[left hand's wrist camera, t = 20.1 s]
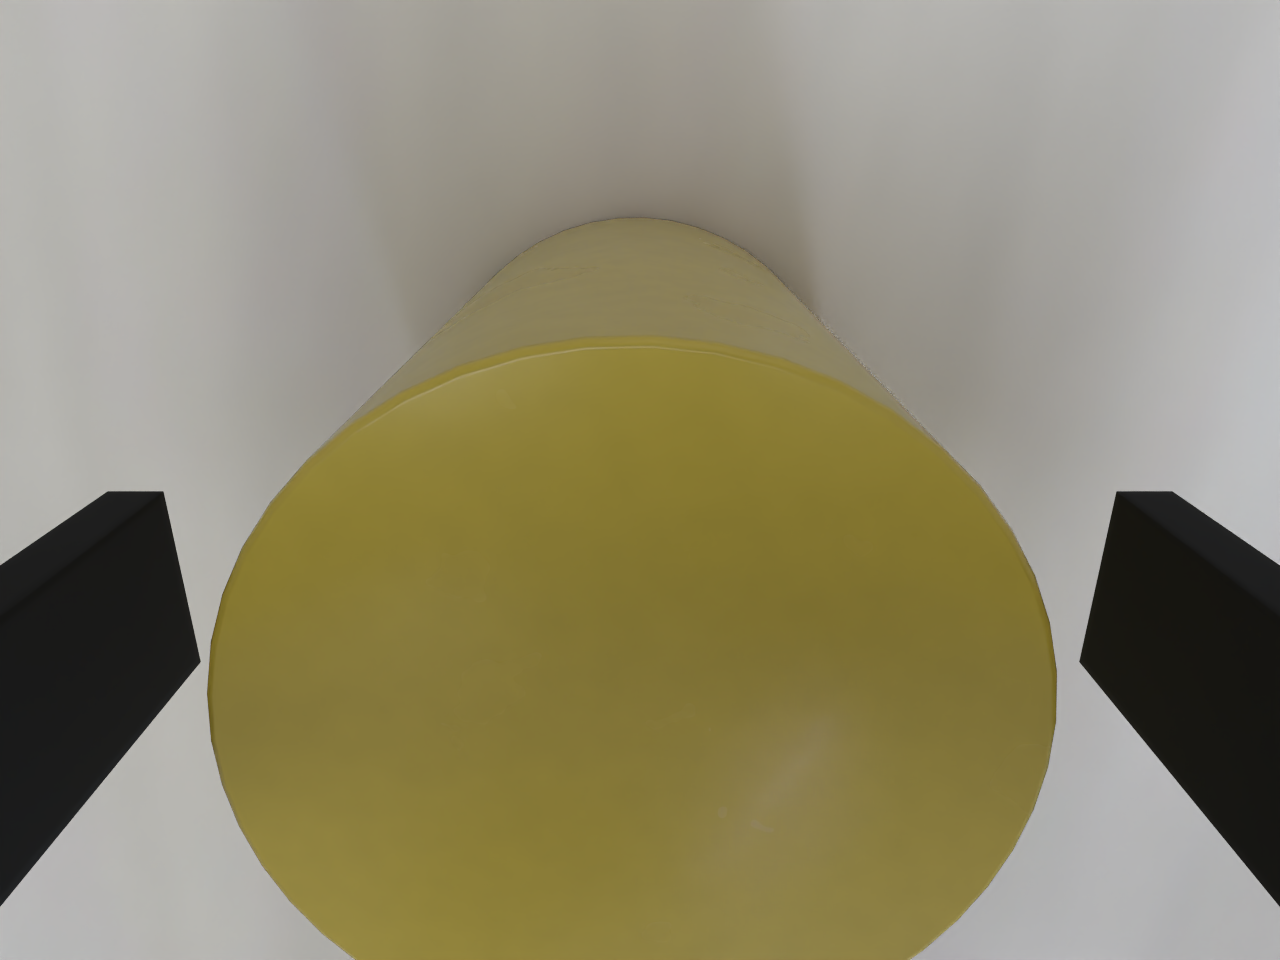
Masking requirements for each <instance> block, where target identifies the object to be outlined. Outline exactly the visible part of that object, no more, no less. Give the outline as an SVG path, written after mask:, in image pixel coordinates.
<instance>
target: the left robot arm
mask: <svg viewBox="0 0 1280 960" xmlns="http://www.w3.org/2000/svg"><path fill="white" fill-rule="evenodd" d="M200 662H201V661H200V657H199V652H198V648H197V643H196V639H195V634H194V629H193V625H192V620H191V616H190V611H189V606H188V602H187V597H186V593H185V588H184V584H183V579H182V574H181V570H180V565H179V561H178V556H177V552H176V547H175V542H174V538H173V533H172V529H171V524H170V519H169V515H168V510H167V506H166V501H165V497H164V492H163V491H108V492H106V493H105V494H103V495H102V496H100V497H99V498H98V499H96V500H95V501H93V502H92V503H90V504H89V505H87V506H86V507H84V508H83V509H82V510H80V511H79V512H77V513H76V514H74V515H73V516H71V517H70V518H69V519H67V520H66V521H64V522H63V523H61V524H60V525H58V526H57V527H55V528H54V529H53V530H51V531H50V532H48V533H47V534H45V535H44V536H42V537H41V538H39V539H38V540H37V541H35V542H34V543H32V544H31V545H29V546H28V547H26V548H25V549H23V550H22V551H21V552H19V553H18V554H16V555H15V556H13V557H12V558H10V559H9V560H7V561H6V562H5V563H3V564H2V565H0V906H1V905H2V904H3V903H4V901H5V900H6V899H7V898H8V896H9V895H10V894H11V893H12V892H13V890H14V889H15V888H16V887H17V885H18V884H19V883H20V882H21V881H22V879H23V878H24V877H25V876H26V874H27V873H28V872H29V871H30V870H31V868H32V867H33V866H34V865H35V863H36V862H37V861H38V860H39V859H40V857H41V856H42V855H43V854H44V852H45V851H46V850H47V849H48V848H49V846H50V845H51V844H52V843H53V841H54V840H55V839H56V838H57V837H58V835H59V834H60V833H61V832H62V830H63V829H64V828H65V827H66V826H67V824H68V823H69V822H70V821H71V820H72V818H73V817H74V816H75V815H76V813H77V812H78V811H79V810H80V809H81V807H82V806H83V805H84V804H85V802H86V801H87V800H88V799H89V798H90V796H91V795H92V794H93V793H94V791H95V790H96V789H97V788H98V787H99V785H100V784H101V783H102V782H103V780H104V779H105V778H106V777H107V776H108V774H109V773H110V772H111V771H112V769H113V768H114V767H115V766H116V765H117V763H118V762H119V761H120V760H121V758H122V757H123V756H124V755H125V754H126V752H127V751H128V750H129V749H130V747H131V746H132V745H133V744H134V743H135V741H136V740H137V739H138V738H139V736H140V735H141V734H142V733H143V732H144V730H145V729H146V728H147V727H148V725H149V724H150V723H151V722H152V721H153V719H154V718H155V717H156V716H157V715H158V713H159V712H160V711H161V710H162V708H163V707H164V706H165V705H166V704H167V702H168V701H169V700H170V699H171V697H172V696H173V695H174V694H175V693H176V691H177V690H178V689H179V688H180V686H181V685H182V684H183V683H184V682H185V680H186V679H187V678H188V677H189V675H190V674H191V673H192V672H193V671H194V669H195V668H196V667H197V666H198V664H199V663H200ZM1079 662H1080V663H1081V664H1082V666H1083V667H1084V668H1085V669H1086V671H1087V672H1088V673H1089V674H1090V675H1091V677H1092V678H1093V679H1094V680H1095V682H1096V683H1097V684H1098V685H1099V686H1100V688H1101V689H1102V690H1103V691H1104V693H1105V694H1106V695H1107V696H1108V697H1109V699H1110V700H1111V701H1112V702H1113V704H1114V705H1115V706H1116V707H1117V708H1118V710H1119V711H1120V712H1121V713H1122V715H1123V716H1124V717H1125V718H1126V719H1127V721H1128V722H1129V723H1130V724H1131V725H1132V727H1133V728H1134V729H1135V730H1136V732H1137V733H1138V734H1139V735H1140V736H1141V738H1142V739H1143V740H1144V741H1145V743H1146V744H1147V745H1148V746H1149V747H1150V749H1151V750H1152V751H1153V752H1154V754H1155V755H1156V756H1157V757H1158V758H1159V760H1160V761H1161V762H1162V763H1163V765H1164V766H1165V767H1166V768H1167V769H1168V771H1169V772H1170V773H1171V774H1172V776H1173V777H1174V778H1175V779H1176V780H1177V782H1178V783H1179V784H1180V785H1181V787H1182V788H1183V789H1184V790H1185V791H1186V793H1187V794H1188V795H1189V796H1190V798H1191V799H1192V800H1193V801H1194V802H1195V804H1196V805H1197V806H1198V807H1199V809H1200V810H1201V811H1202V812H1203V813H1204V815H1205V816H1206V817H1207V818H1208V820H1209V821H1210V822H1211V823H1212V824H1213V826H1214V827H1215V828H1216V829H1217V830H1218V832H1219V833H1220V834H1221V835H1222V837H1223V838H1224V839H1225V840H1226V841H1227V843H1228V844H1229V845H1230V846H1231V848H1232V849H1233V850H1234V851H1235V852H1236V854H1237V855H1238V856H1239V857H1240V859H1241V860H1242V861H1243V862H1244V863H1245V865H1246V866H1247V867H1248V868H1249V870H1250V871H1251V872H1252V873H1253V874H1254V876H1255V877H1256V878H1257V879H1258V881H1259V882H1260V883H1261V884H1262V885H1263V887H1264V888H1265V889H1266V890H1267V892H1268V893H1269V894H1270V895H1271V896H1272V898H1273V899H1274V900H1275V901H1276V903H1277V904H1278V905H1279V906H1280V565H1278V564H1277V563H1275V562H1274V561H1273V560H1271V559H1270V558H1268V557H1267V556H1265V555H1264V554H1262V553H1261V552H1259V551H1258V550H1257V549H1255V548H1254V547H1252V546H1251V545H1249V544H1248V543H1246V542H1245V541H1243V540H1242V539H1241V538H1239V537H1238V536H1236V535H1235V534H1233V533H1232V532H1230V531H1229V530H1227V529H1226V528H1225V527H1223V526H1222V525H1220V524H1219V523H1217V522H1216V521H1214V520H1213V519H1211V518H1210V517H1209V516H1207V515H1206V514H1204V513H1203V512H1201V511H1200V510H1198V509H1197V508H1196V507H1194V506H1193V505H1191V504H1190V503H1188V502H1187V501H1185V500H1184V499H1182V498H1181V497H1180V496H1178V495H1177V494H1175V493H1174V492H1172V491H1117V492H1116V497H1115V501H1114V506H1113V510H1112V515H1111V519H1110V524H1109V529H1108V533H1107V538H1106V542H1105V547H1104V552H1103V556H1102V561H1101V565H1100V570H1099V574H1098V579H1097V584H1096V588H1095V593H1094V597H1093V602H1092V606H1091V611H1090V616H1089V620H1088V625H1087V629H1086V634H1085V639H1084V643H1083V648H1082V652H1081V657H1080V661H1079Z"/></svg>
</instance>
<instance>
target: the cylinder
mask: <svg viewBox="0 0 1280 960" xmlns="http://www.w3.org/2000/svg"><path fill="white" fill-rule="evenodd" d="M1056 690H1057V669H1056V662H1055V656H1054V649H1053V642H1052V635H1051V628H1050V622H1049V619H1048V616H1047V612H1046V609H1045V606H1044V603H1043V600H1042V596H1041V593H1040V590H1039V587H1038V584H1037V581H1036V577H1035V575H1034V573H1033V571H1032V569H1031V567H1030V565H1029V563H1028V561H1027V559H1026V557H1025V555H1024V553H1023V551H1022V549H1021V547H1020V545H1019V543H1018V541H1017V539H1016V537H1015V535H1014V533H1013V531H1012V529H1011V528H1010V526H1009V525H1008V523H1007V522H1006V521H1005V519H1004V518H1003V516H1002V515H1001V514H1000V512H999V511H998V509H997V508H996V507H995V505H994V504H993V503H992V501H991V500H990V498H989V497H988V496H987V494H986V493H985V491H984V490H983V489H982V487H981V486H980V485H979V484H978V483H977V482H976V481H975V480H974V479H973V477H972V476H971V475H970V474H969V473H968V472H967V471H966V470H965V469H964V468H963V467H962V466H961V465H960V464H959V463H958V462H957V461H956V460H955V459H954V458H953V457H952V456H951V455H950V454H949V453H948V452H947V451H946V450H945V449H944V448H943V447H942V446H941V445H940V444H939V443H938V442H937V441H936V440H935V439H934V438H933V437H932V436H931V434H930V433H929V432H928V431H927V430H926V429H925V428H924V427H923V426H922V425H921V424H920V423H919V422H918V421H917V420H916V419H915V418H914V417H913V416H912V415H911V414H910V413H909V412H908V411H907V410H906V409H905V408H904V407H903V406H902V405H901V404H900V403H899V402H898V401H897V400H896V399H895V398H894V397H893V396H892V395H891V394H890V393H889V392H888V390H887V389H886V388H885V387H884V386H883V385H882V384H881V383H880V382H879V381H878V380H877V379H876V378H875V377H874V376H873V375H872V374H871V373H870V372H869V371H868V370H867V369H866V368H865V367H864V366H863V365H862V364H861V363H860V362H859V361H858V360H857V359H856V358H855V357H854V356H853V355H852V354H851V353H850V352H849V351H848V350H847V349H846V347H845V346H844V345H843V344H842V343H841V342H840V341H839V340H838V339H837V338H836V337H835V336H834V335H833V334H832V333H831V332H830V331H829V330H828V329H827V328H826V327H825V326H824V325H823V324H822V323H821V322H820V321H819V320H818V319H817V318H816V317H815V316H814V315H813V314H812V313H811V312H810V311H809V310H808V309H807V308H806V307H805V306H804V304H803V303H802V302H801V301H800V300H799V299H798V298H797V297H796V296H795V295H794V294H793V293H792V292H791V291H790V290H789V289H788V288H787V287H786V286H785V285H784V284H783V283H782V282H781V281H780V280H779V279H778V278H777V277H776V276H775V275H774V274H773V273H772V272H771V271H770V270H769V269H768V268H767V267H766V266H765V265H764V264H762V263H761V262H760V261H758V260H757V259H756V258H755V257H753V256H752V255H751V254H749V253H748V252H747V251H745V250H744V249H742V248H740V247H738V246H737V245H735V244H733V243H731V242H730V241H728V240H726V239H724V238H723V237H720V236H718V235H715V234H713V233H710V232H708V231H705V230H703V229H700V228H698V227H694V226H690V225H686V224H682V223H678V222H674V221H669V220H660V219H651V218H616V219H610V220H603V221H597V222H591V223H587V224H584V225H581V226H577V227H574V228H571V229H568V230H564V231H562V232H560V233H558V234H555V235H553V236H551V237H549V238H547V239H545V240H543V241H540V242H538V243H537V244H535V245H534V246H532V247H531V248H529V249H528V250H526V251H525V252H523V253H521V254H520V255H518V256H517V257H516V258H514V259H513V260H512V261H511V262H510V263H509V264H507V265H506V266H505V267H504V268H503V269H502V270H501V271H499V272H498V273H497V274H496V275H495V276H494V277H493V278H492V279H491V280H490V281H489V282H488V283H487V284H486V285H485V286H484V287H483V288H482V289H481V290H480V291H479V292H478V293H477V294H476V295H475V296H474V297H473V298H472V299H470V300H469V301H468V302H467V303H466V304H465V305H464V306H463V307H462V308H461V309H460V310H459V311H458V312H457V313H456V314H455V315H454V316H453V317H452V318H451V319H450V320H449V321H448V322H447V323H446V324H445V325H444V326H443V327H442V328H441V329H440V330H439V331H438V332H437V333H436V334H435V335H434V336H433V337H432V338H431V339H430V340H429V341H428V342H427V343H426V344H425V345H424V346H423V347H422V348H421V349H420V350H419V351H418V352H417V353H416V354H415V355H413V356H412V357H411V358H410V359H409V360H408V361H407V362H406V363H405V364H404V365H403V366H402V367H401V368H400V369H399V370H398V371H397V372H396V373H395V374H394V375H393V376H392V377H391V378H390V379H389V380H388V381H387V382H386V383H385V384H384V385H383V386H382V387H381V388H380V389H379V390H378V391H377V392H376V393H375V394H374V395H373V396H372V397H371V398H370V399H369V400H368V401H367V402H366V403H365V404H364V405H363V406H362V407H361V408H360V409H359V410H358V411H356V412H355V413H354V414H353V415H352V416H351V417H350V418H349V419H348V420H347V421H346V422H345V423H344V424H343V425H342V426H341V427H340V428H339V429H338V430H337V431H336V432H335V433H334V434H333V435H332V436H331V437H330V438H329V439H328V440H327V441H326V442H325V443H324V444H323V445H322V446H321V447H320V448H319V449H318V450H317V451H316V452H315V453H314V454H313V455H312V456H311V457H310V458H309V459H308V460H307V461H306V462H305V463H304V464H303V465H302V466H301V468H300V469H299V470H298V471H297V472H296V473H295V474H294V476H293V477H292V478H291V479H290V480H289V481H288V483H287V484H286V485H285V486H284V487H283V488H282V490H281V491H280V492H279V493H278V494H277V495H276V496H275V498H274V499H273V500H272V501H271V502H270V504H269V505H268V507H267V509H266V510H265V512H264V513H263V515H262V517H261V518H260V520H259V521H258V523H257V525H256V526H255V528H254V529H253V531H252V533H251V534H250V536H249V537H248V539H247V541H246V542H245V544H244V545H243V547H242V549H241V551H240V554H239V556H238V559H237V561H236V563H235V566H234V568H233V570H232V573H231V575H230V578H229V580H228V582H227V585H226V587H225V589H224V592H223V594H222V598H221V602H220V607H219V611H218V615H217V619H216V623H215V627H214V631H213V636H212V640H211V648H210V662H209V675H208V689H207V697H208V709H209V721H210V732H211V742H212V746H213V750H214V754H215V758H216V762H217V766H218V770H219V774H220V778H221V782H222V786H223V788H224V791H225V793H226V795H227V798H228V800H229V803H230V805H231V808H232V810H233V813H234V815H235V817H236V820H237V822H238V825H239V827H240V829H241V830H242V832H243V834H244V836H245V837H246V839H247V841H248V842H249V844H250V846H251V848H252V849H253V851H254V853H255V854H256V856H257V858H258V859H259V861H260V863H261V865H262V866H263V867H264V869H265V870H266V871H267V873H268V874H269V875H270V876H271V878H272V879H273V880H274V882H275V883H276V884H277V885H278V887H279V888H280V889H281V891H282V892H283V893H284V894H285V896H286V897H287V898H288V900H289V901H290V902H291V903H292V904H293V905H294V906H295V907H296V908H297V909H298V910H299V911H300V912H301V913H302V914H303V915H304V916H305V917H306V918H307V919H308V920H309V921H310V922H311V923H312V924H313V925H314V926H315V927H316V928H317V929H318V930H319V931H320V932H321V933H322V934H323V935H324V936H326V937H327V938H328V939H330V940H331V941H332V942H333V943H335V944H336V945H337V946H338V947H340V948H341V949H342V950H343V951H345V952H346V953H347V954H349V955H350V956H351V957H352V958H354V959H355V960H910V959H911V958H913V957H914V956H916V955H917V954H919V953H920V952H922V951H923V950H924V949H925V948H926V947H928V946H929V945H930V944H931V943H932V942H933V941H934V940H936V939H937V938H938V937H939V936H940V935H941V934H942V933H944V932H945V931H946V930H947V929H948V928H949V927H950V926H952V925H953V924H954V923H955V922H956V921H957V920H958V919H959V918H960V917H961V916H962V915H963V914H964V912H965V911H966V910H967V909H968V908H969V907H970V906H971V905H972V904H973V902H974V901H975V900H976V899H977V898H978V897H979V896H980V895H981V894H982V892H983V891H984V890H985V889H986V888H987V887H988V885H989V884H990V883H991V881H992V880H993V878H994V877H995V875H996V874H997V872H998V871H999V870H1000V868H1001V867H1002V865H1003V864H1004V862H1005V861H1006V859H1007V858H1008V856H1009V855H1010V854H1011V852H1012V851H1013V849H1014V847H1015V845H1016V843H1017V841H1018V839H1019V837H1020V835H1021V833H1022V831H1023V829H1024V827H1025V825H1026V823H1027V821H1028V819H1029V817H1030V816H1031V814H1032V812H1033V810H1034V807H1035V804H1036V801H1037V798H1038V795H1039V792H1040V789H1041V786H1042V783H1043V780H1044V777H1045V774H1046V771H1047V768H1048V764H1049V758H1050V752H1051V747H1052V741H1053V735H1054V730H1055V724H1056Z"/></svg>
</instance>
